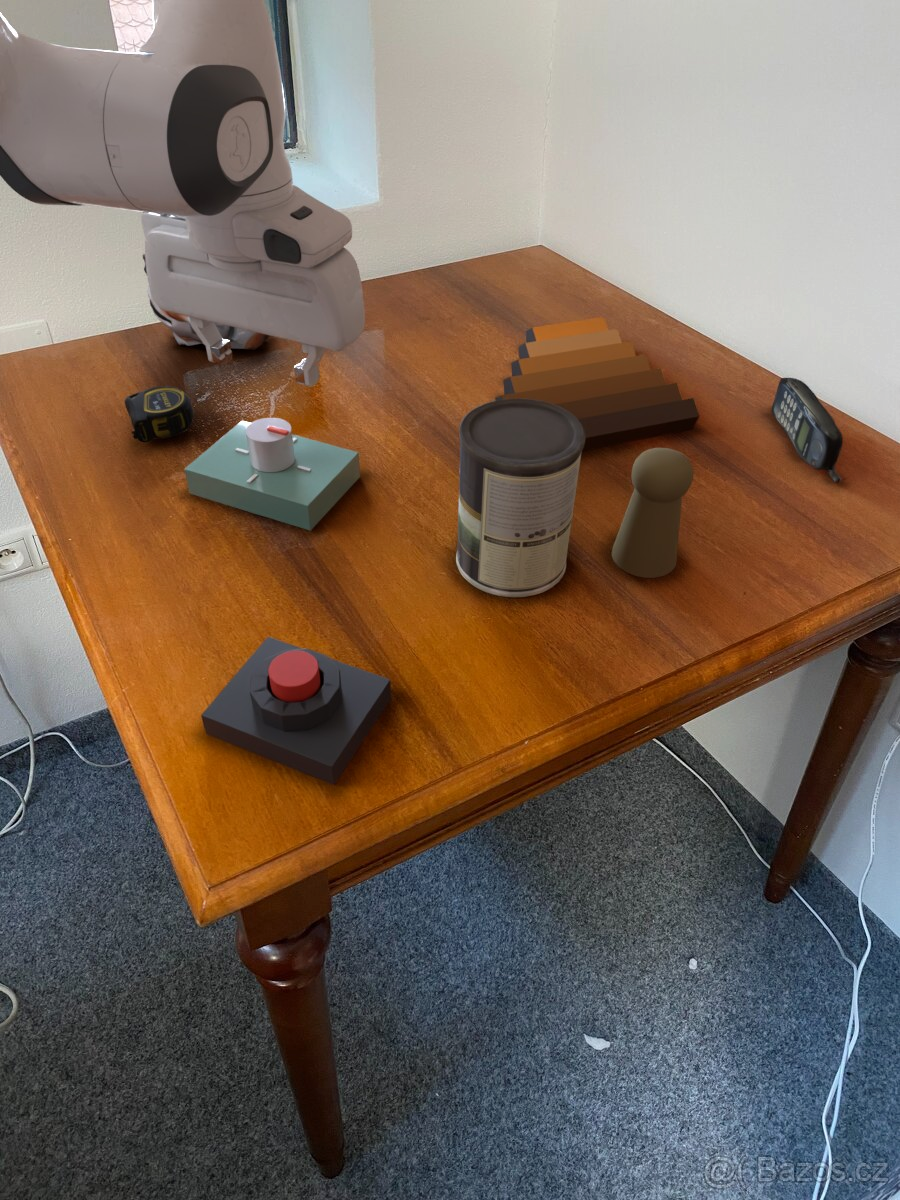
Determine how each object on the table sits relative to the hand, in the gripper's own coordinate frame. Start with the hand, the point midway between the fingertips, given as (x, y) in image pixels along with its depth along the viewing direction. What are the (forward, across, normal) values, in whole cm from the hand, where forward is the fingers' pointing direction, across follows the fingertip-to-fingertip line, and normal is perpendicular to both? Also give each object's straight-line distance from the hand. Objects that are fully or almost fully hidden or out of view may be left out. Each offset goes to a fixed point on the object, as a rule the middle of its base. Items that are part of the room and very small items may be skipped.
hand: (263, 371), depth 80 cm
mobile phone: (+13, +48, +31) cm, 58 cm away
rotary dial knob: (+10, 0, 0) cm, 10 cm away
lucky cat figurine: (+13, -24, +24) cm, 37 cm away
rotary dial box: (+13, 0, 0) cm, 13 cm away
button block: (+13, +18, -25) cm, 33 cm away
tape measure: (+13, -17, +3) cm, 22 cm away
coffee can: (+13, +26, -1) cm, 29 cm away
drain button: (+9, +18, -25) cm, 32 cm away
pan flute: (+13, +18, +29) cm, 37 cm away
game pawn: (+13, +37, +5) cm, 39 cm away
